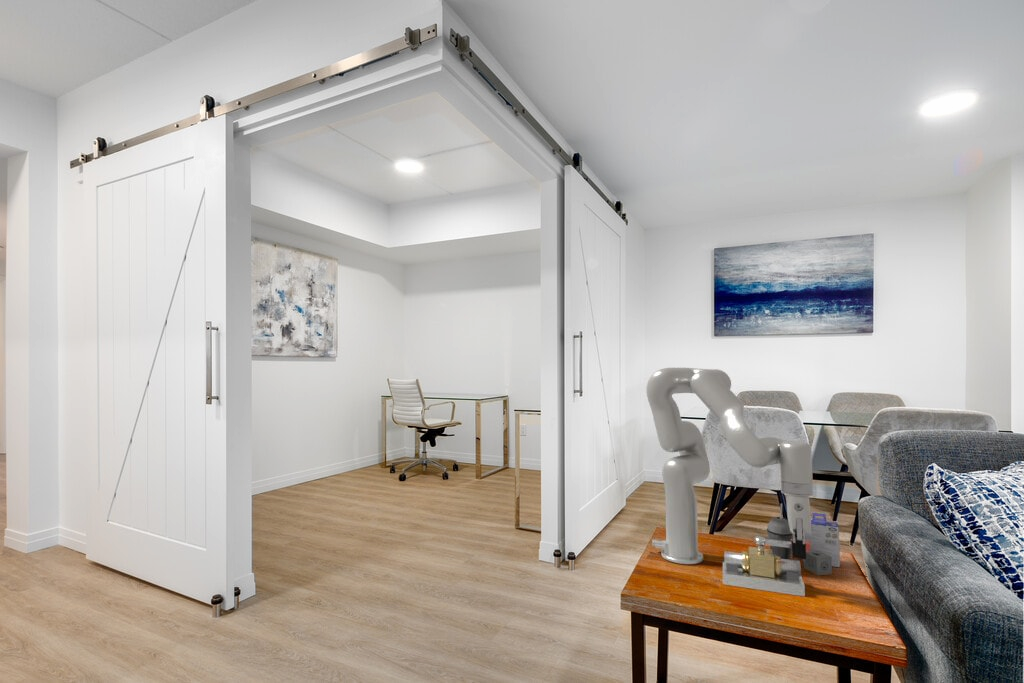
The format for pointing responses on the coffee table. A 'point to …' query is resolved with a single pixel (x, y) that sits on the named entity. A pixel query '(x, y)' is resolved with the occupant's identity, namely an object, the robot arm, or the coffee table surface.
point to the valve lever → (778, 543)
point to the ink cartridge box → (825, 538)
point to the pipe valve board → (763, 582)
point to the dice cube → (818, 563)
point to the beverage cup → (780, 535)
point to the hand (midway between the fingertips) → (799, 557)
